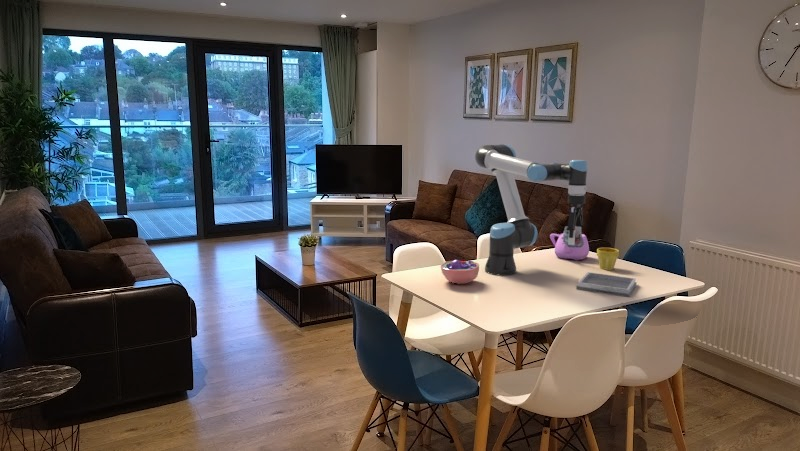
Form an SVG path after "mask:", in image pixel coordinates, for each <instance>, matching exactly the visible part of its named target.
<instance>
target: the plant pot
mask: <svg viewBox="0 0 800 451" xmlns="http://www.w3.org/2000/svg"><path fill="white" fill-rule="evenodd" d="M619 254H620V250H619V249H617V248H612V247H598V248H597V249H596V256H597V258H598V265H599V269H600V270H604V271H613V270H614V268H615V265H616V262H617V259H618V258H619Z"/></svg>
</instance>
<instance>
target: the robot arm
mask: <svg viewBox="0 0 800 451" xmlns="http://www.w3.org/2000/svg"><path fill="white" fill-rule="evenodd" d="M474 159H475V163H476V164H477V166H479V167H480V168H484V169H488V170H491V174H492V175H494V176H495V177H496V180H497V184H498V188H499V191H500V196H501V199H502V203H503V206H504V210H505V213H506V217H507V218H506V219H507V222H500V223H495V224H493V225H492V226H491V227H490V232H489V255H488V258H487V260H486V262H485V266H484V272H486V273H488V272H489V273H488V274H491V273H492V275H496V274H499V275H498V276H509V275H515V274H516V273H517V265H516V263H515V259H514V252H515V251H514V250H515V249H520V248H526V247H530V246H532V245H534V244H535V243H536V242H537V239H538V229H537V226H536V225H534V224H533V223H531V222H530V218H529V217H528V216H526V214H525V211H524V208H523V204H522V201H521V196H520V193H519V191H518V190H519V189H518V187H517V183H516V182H517V181H516V180H515V175H516V176H521V177H523V178H526V179H527V178H528V179H529V180H530V182H537V183H540V182H550V181H551V182H552V181H568V189H567V194H568V195H567V203H568V204H572V205H571V207H569V215H568V222H567V226H568V228H567V230H569V233H568V245H575V236H576V237H579V234H582V228H583V227H584V222H583V221H584V219H583V205H584V204H585V203H586V197H587V196H586V192H587V190H588V188H587V176H588V175H587V174H588V162H587V160H584V159H571V160H569V163H558V162H554V163H545V164H542V163H540V162H535V161H531V160H527V159H523V158H520V157H517V154H516V151H515V149H514V148H513V147H512V146H510V145H508V144H502V143H501V144H484V145H482V146H480V147H479V148H478V149H477V150H476V151H475V156H474ZM574 230H575V231H574Z"/></svg>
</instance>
